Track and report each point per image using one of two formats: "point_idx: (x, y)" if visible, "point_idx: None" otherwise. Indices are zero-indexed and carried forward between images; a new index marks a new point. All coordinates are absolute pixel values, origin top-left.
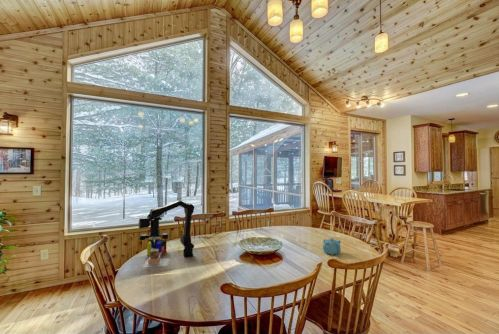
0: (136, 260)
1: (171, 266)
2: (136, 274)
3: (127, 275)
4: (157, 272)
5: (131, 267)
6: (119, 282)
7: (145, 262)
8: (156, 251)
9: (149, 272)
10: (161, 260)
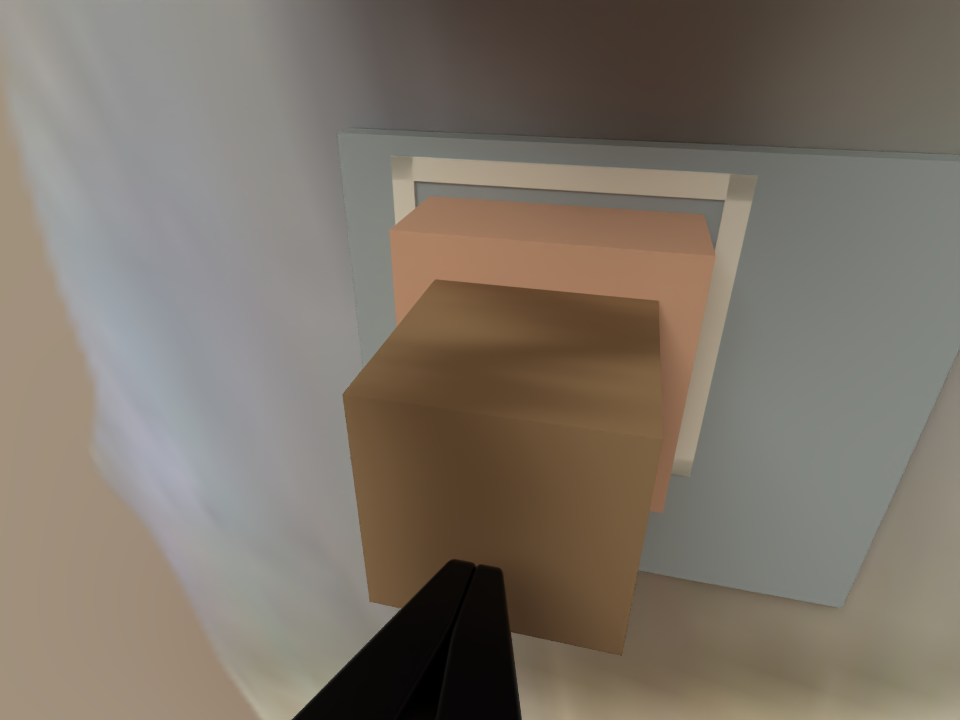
0: (103, 45)
1: (921, 596)
2: (367, 635)
3: (270, 618)
4: (643, 689)
5: (196, 405)
6: (266, 714)
7: (364, 319)
8: (580, 643)
9: (526, 649)
10: (732, 304)
